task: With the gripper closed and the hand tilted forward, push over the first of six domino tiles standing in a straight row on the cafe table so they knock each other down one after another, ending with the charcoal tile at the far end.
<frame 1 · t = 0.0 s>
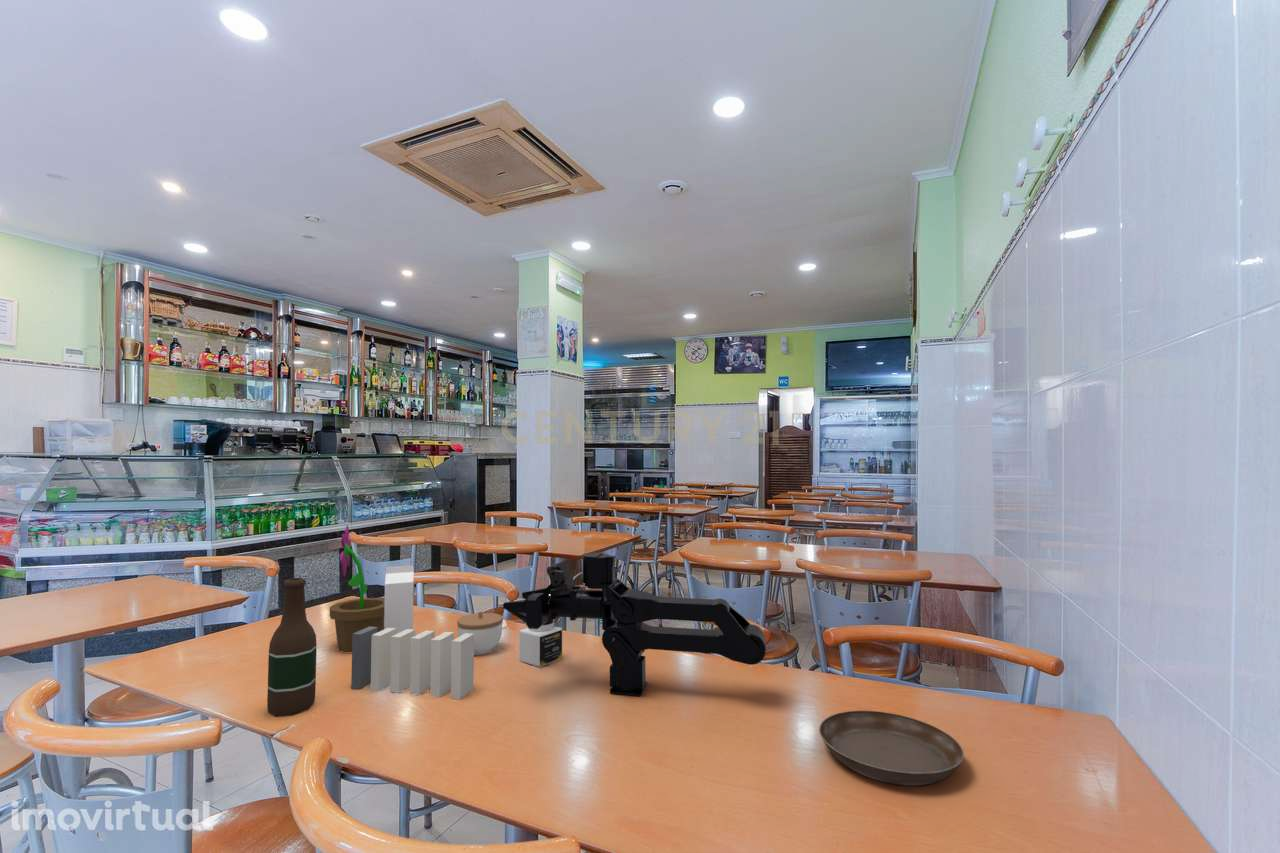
hand: (513, 599, 124), 17 cm above the table, tool horizontal, fingers open, 9 cm apart
lidded jar: (480, 651, 141), on the table
medicine bottle: (540, 661, 134), on the table
plant saucer: (888, 759, 91), on the table
domino 6: (364, 684, 121), on the table
beer bottle: (291, 709, 109), on the table
domino 1: (462, 693, 116), on the table
domino 2: (442, 691, 117), on the table
flowerpot: (360, 647, 145), on the table
domino 5: (383, 685, 120), on the table
milk: (398, 664, 132), on the table
domino 4: (402, 687, 119), on the table
domino 3: (422, 689, 118), on the table
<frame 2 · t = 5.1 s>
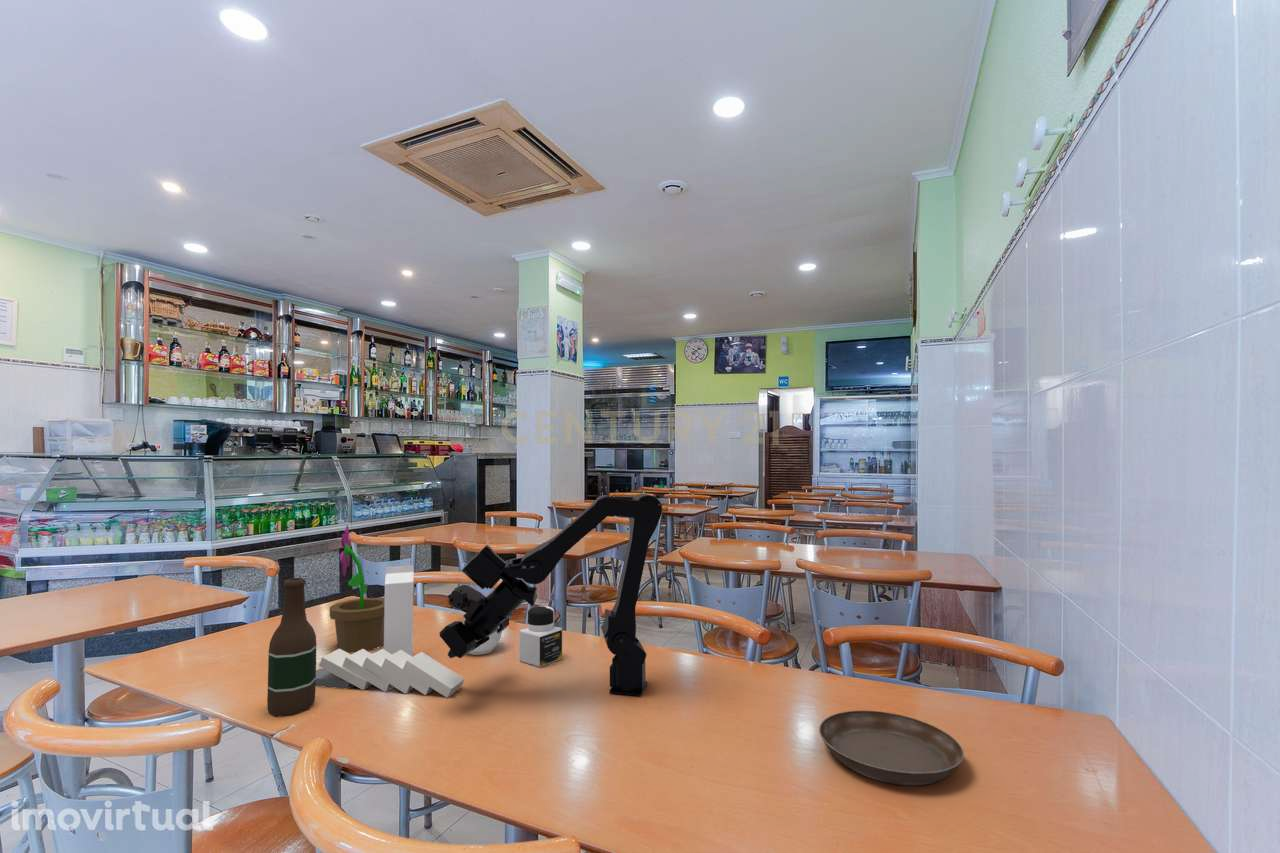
hand: (449, 656, 117), 7 cm above the table, tool tilted 45°, fingers closed
domino 6: (357, 681, 121), on the table, tilted 90°
domino 1: (456, 688, 116), point 1 cm above the table, tilted 64°, touching domino 2
domino 2: (434, 685, 117), point 1 cm above the table, tilted 64°, touching domino 1, domino 3
domino 5: (373, 680, 120), point 1 cm above the table, tilted 67°
domino 4: (395, 682, 119), point 1 cm above the table, tilted 66°, touching domino 3
domino 3: (415, 684, 118), point 1 cm above the table, tilted 64°, touching domino 2, domino 4
everything else where it was.
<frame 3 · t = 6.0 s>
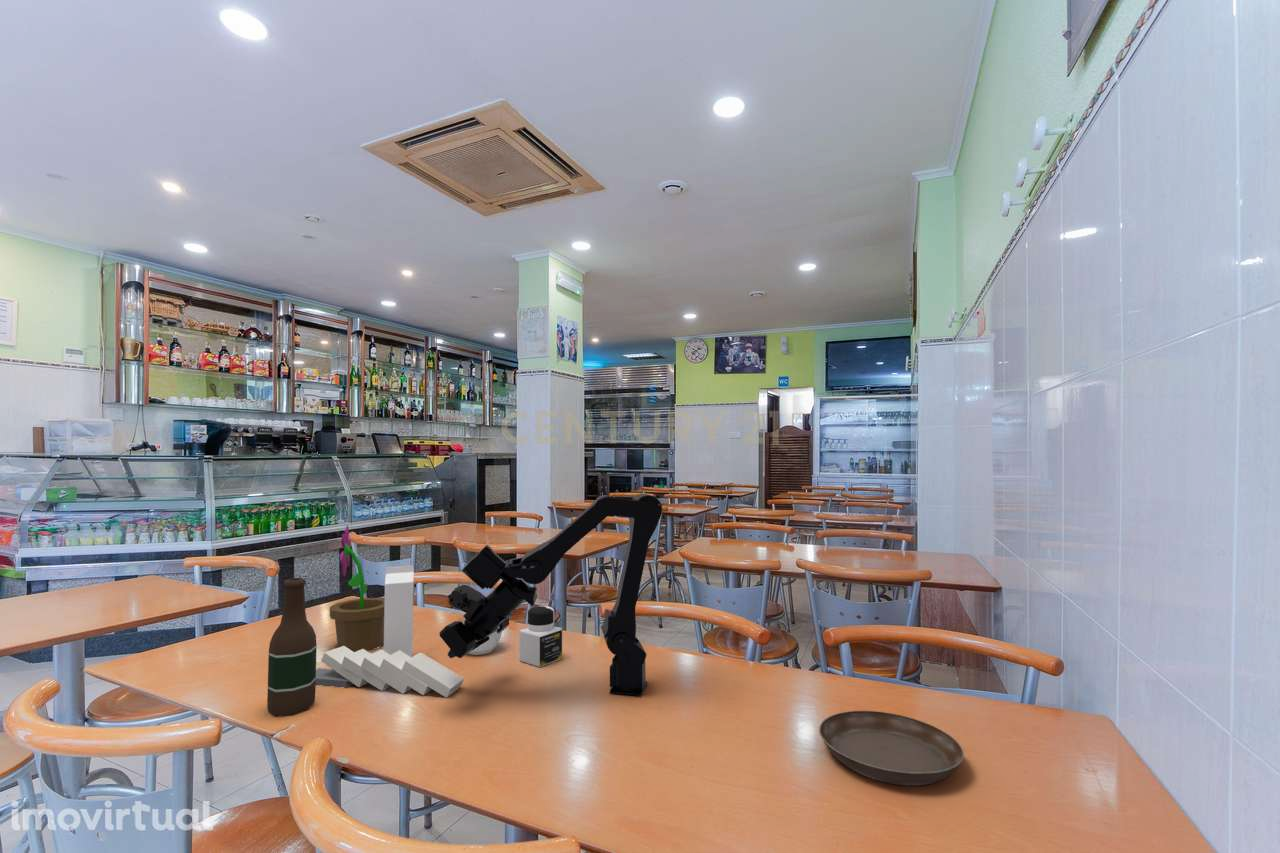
hand: (449, 656, 117), 7 cm above the table, tool tilted 45°, fingers closed
domino 5: (370, 678, 121), point 1 cm above the table, tilted 68°
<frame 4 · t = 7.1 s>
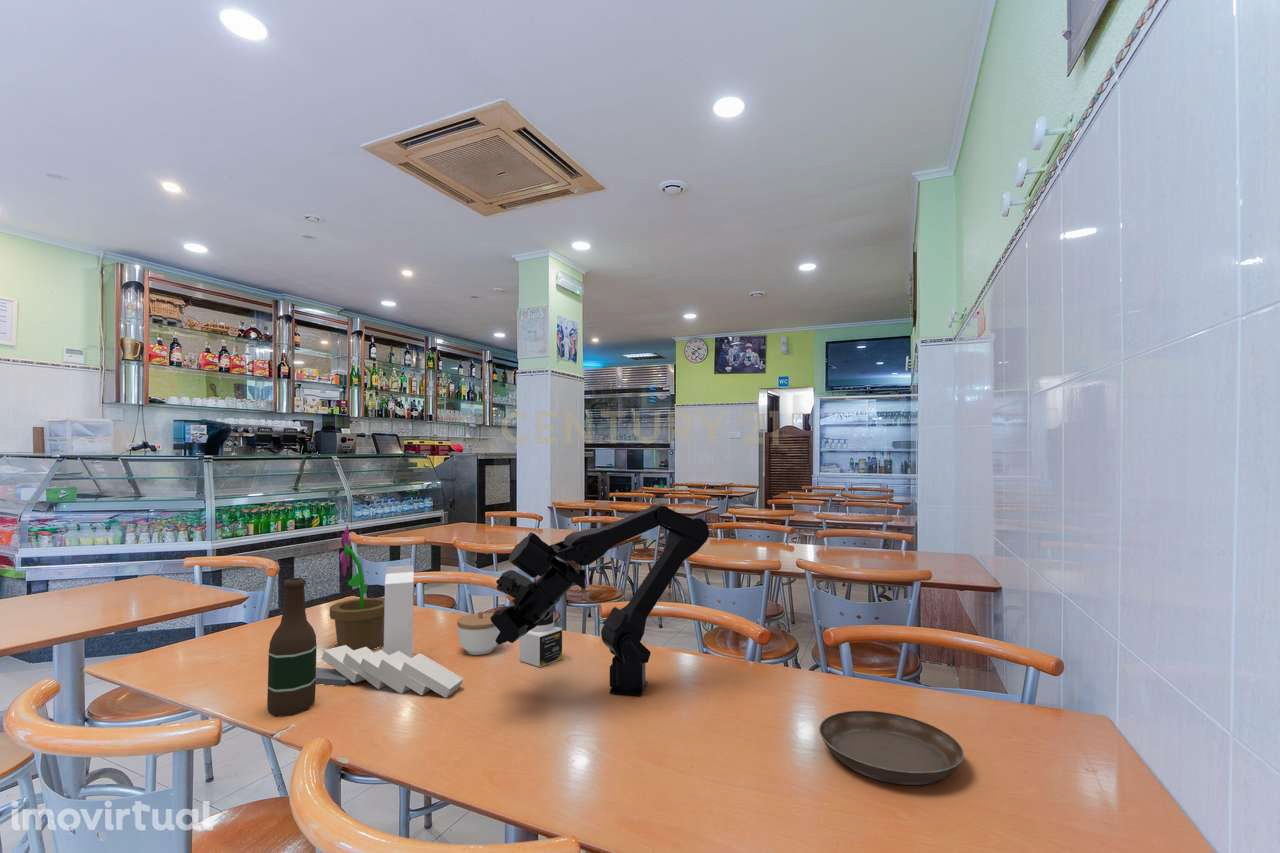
hand: (497, 642, 115), 10 cm above the table, tool tilted 45°, fingers closed
domino 6: (353, 680, 122), on the table, tilted 90°, touching domino 5
domino 1: (455, 688, 116), point 1 cm above the table, tilted 66°, touching domino 2
domino 5: (366, 675, 122), point 1 cm above the table, tilted 73°, touching domino 6
domino 4: (389, 680, 119), point 1 cm above the table, tilted 68°
domino 3: (411, 684, 118), point 1 cm above the table, tilted 66°, touching domino 2
everything else where it was.
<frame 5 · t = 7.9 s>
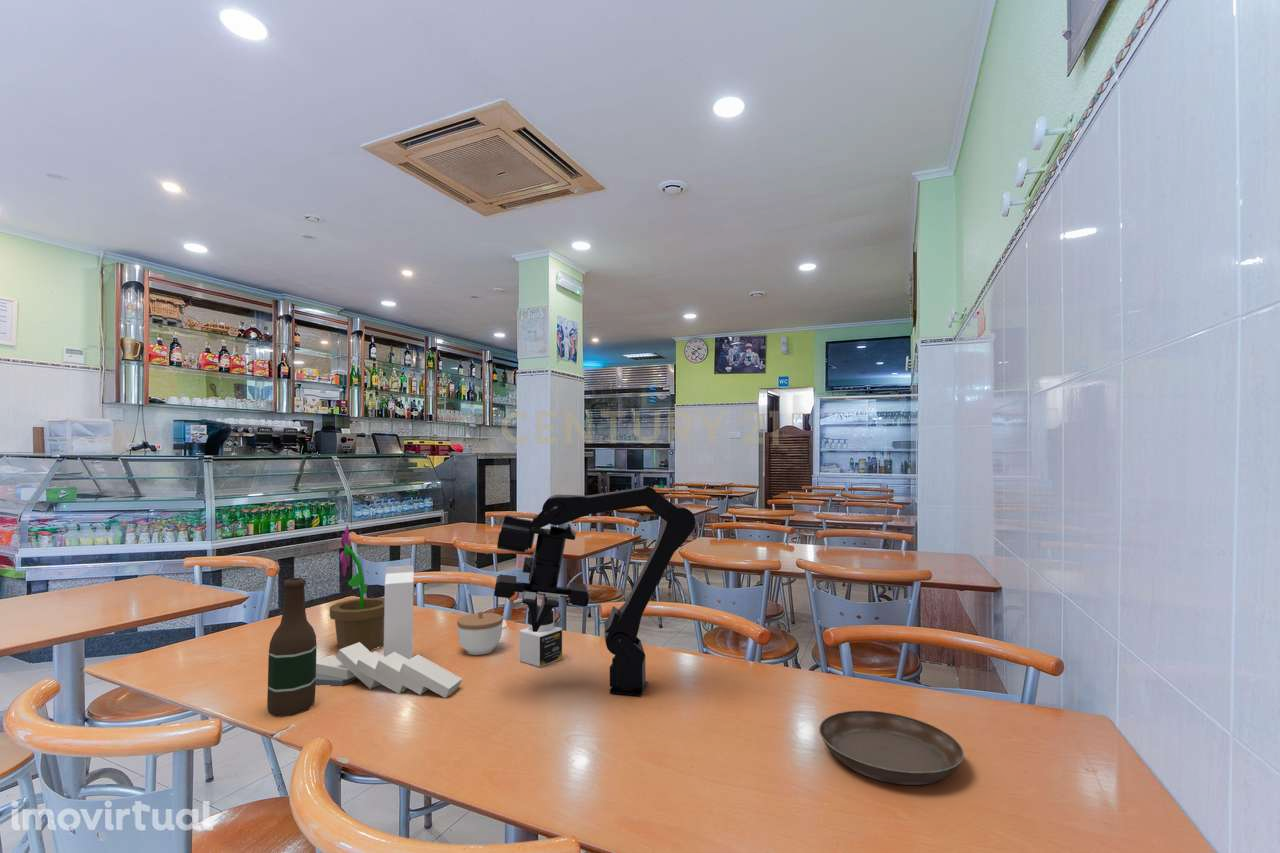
hand: (534, 631, 118), 12 cm above the table, tool pointing down, fingers closed
domino 1: (454, 688, 116), point 1 cm above the table, tilted 67°, touching domino 2
domino 5: (357, 670, 122), point 2 cm above the table, tilted 90°, touching domino 4, domino 6
domino 4: (382, 680, 120), point 1 cm above the table, tilted 62°, touching domino 3, domino 5
domino 3: (408, 684, 118), point 1 cm above the table, tilted 67°, touching domino 2, domino 4
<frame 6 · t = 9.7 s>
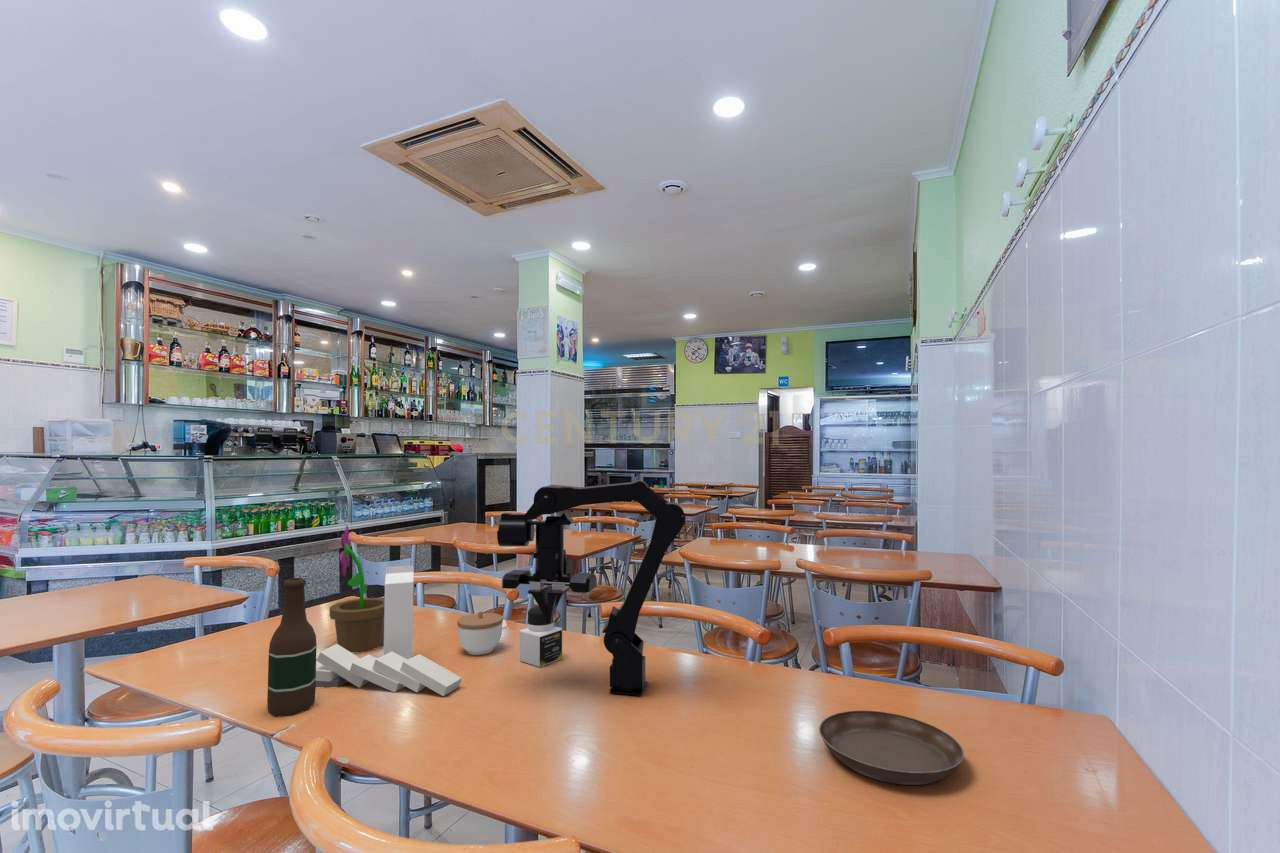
hand: (549, 623, 119), 13 cm above the table, tool pointing down, fingers closed
domino 6: (344, 681, 121), on the table, tilted 90°, touching domino 5
domino 2: (426, 682, 118), point 1 cm above the table, tilted 69°, touching domino 1, domino 3
domino 5: (338, 672, 121), point 2 cm above the table, tilted 90°, touching domino 4, domino 6
domino 4: (369, 678, 121), point 1 cm above the table, tilted 62°, touching domino 3, domino 5
domino 3: (404, 683, 119), point 1 cm above the table, tilted 72°, touching domino 2, domino 4
at the end: domino 6 tilted 90°; domino 1 tilted 69° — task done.
